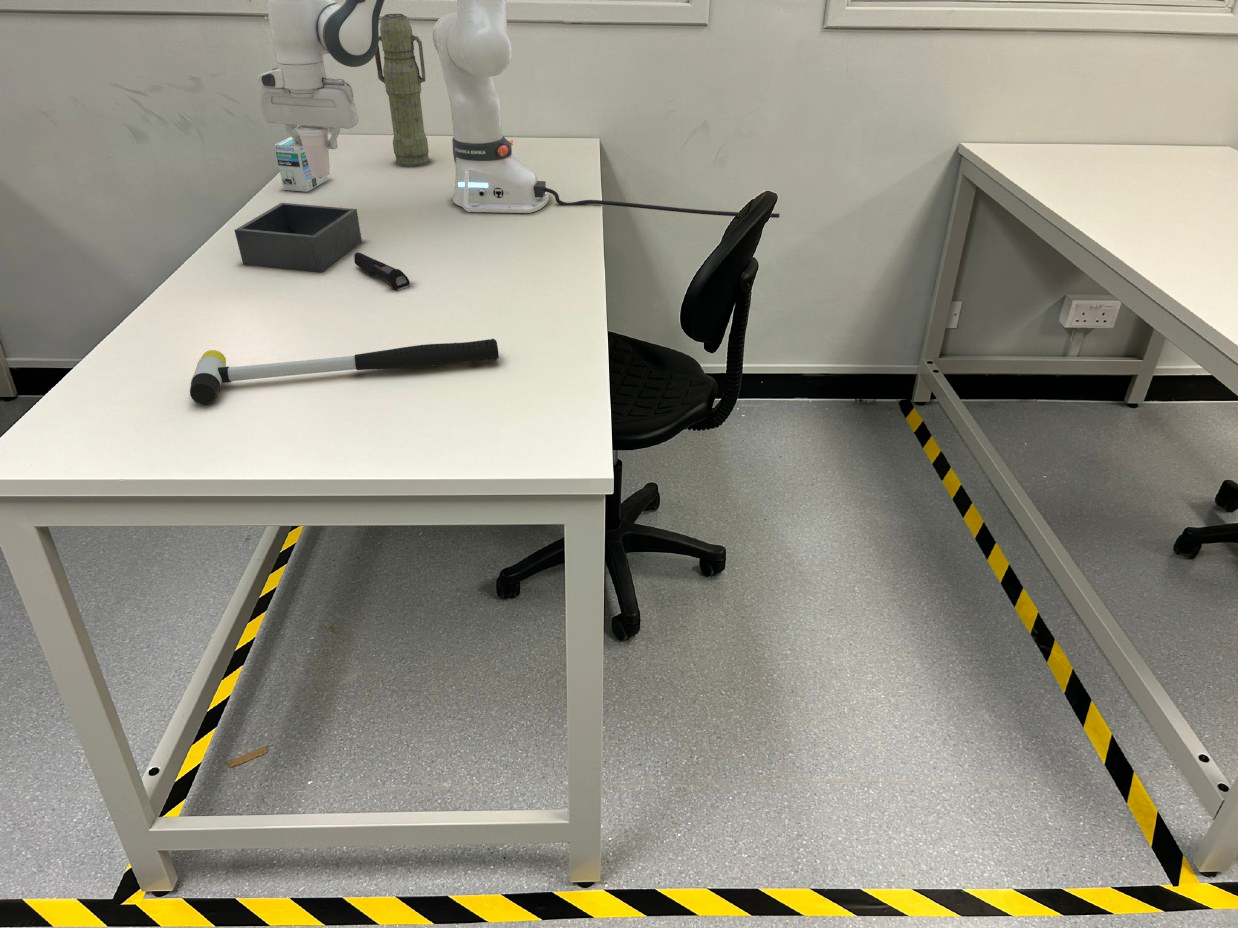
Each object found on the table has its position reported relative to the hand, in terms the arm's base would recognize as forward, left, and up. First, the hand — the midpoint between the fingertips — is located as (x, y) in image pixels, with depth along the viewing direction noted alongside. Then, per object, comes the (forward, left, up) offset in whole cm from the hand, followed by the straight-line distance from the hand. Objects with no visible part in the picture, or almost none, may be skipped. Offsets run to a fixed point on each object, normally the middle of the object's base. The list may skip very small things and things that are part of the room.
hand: (315, 147), depth 181 cm
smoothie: (0, 0, -6) cm, 6 cm away
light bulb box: (+18, -22, -16) cm, 33 cm away
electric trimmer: (-25, +27, -16) cm, 40 cm away
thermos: (+1, -47, -16) cm, 50 cm away
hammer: (-38, +63, -16) cm, 75 cm away
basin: (-5, +19, -16) cm, 25 cm away
